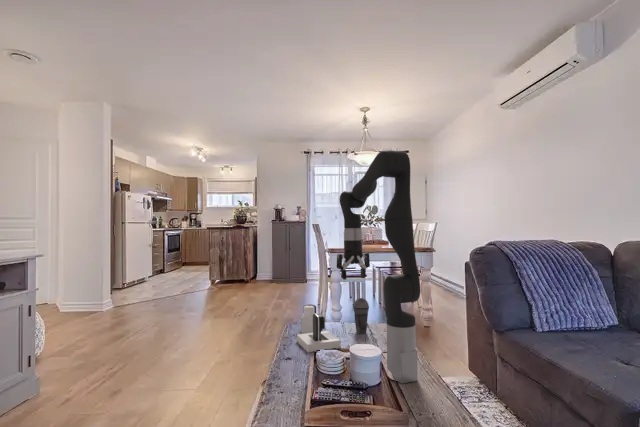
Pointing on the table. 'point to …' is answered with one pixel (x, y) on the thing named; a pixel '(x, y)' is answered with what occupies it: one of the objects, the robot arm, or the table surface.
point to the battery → (318, 326)
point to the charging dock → (312, 345)
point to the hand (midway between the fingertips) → (353, 278)
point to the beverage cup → (361, 314)
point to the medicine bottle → (307, 318)
